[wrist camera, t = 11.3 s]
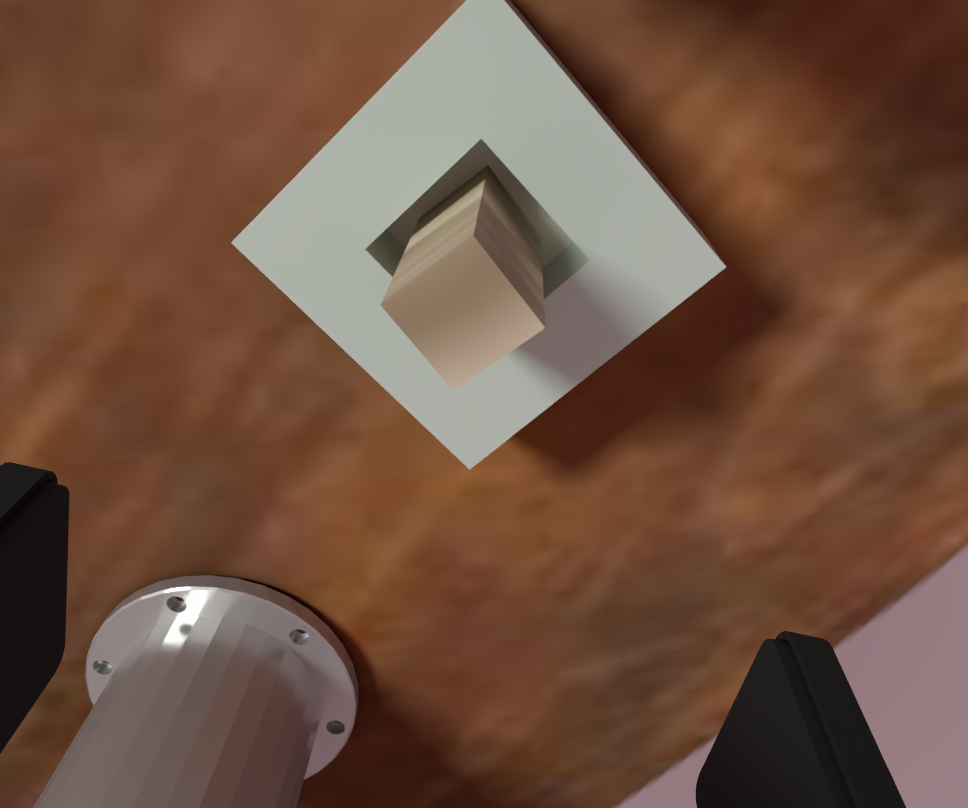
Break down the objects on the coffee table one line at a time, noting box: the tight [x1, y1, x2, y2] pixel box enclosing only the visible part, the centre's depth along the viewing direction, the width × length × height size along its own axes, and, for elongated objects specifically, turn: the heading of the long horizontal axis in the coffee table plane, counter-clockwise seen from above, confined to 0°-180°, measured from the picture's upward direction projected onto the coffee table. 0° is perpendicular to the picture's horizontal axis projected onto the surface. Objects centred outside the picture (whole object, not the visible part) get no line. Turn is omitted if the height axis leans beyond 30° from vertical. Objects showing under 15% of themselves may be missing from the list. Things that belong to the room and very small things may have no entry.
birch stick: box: [381, 165, 545, 391], centre depth 26 cm, size 3×3×9 cm
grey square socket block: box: [231, 0, 726, 469], centre depth 30 cm, size 11×11×4 cm
